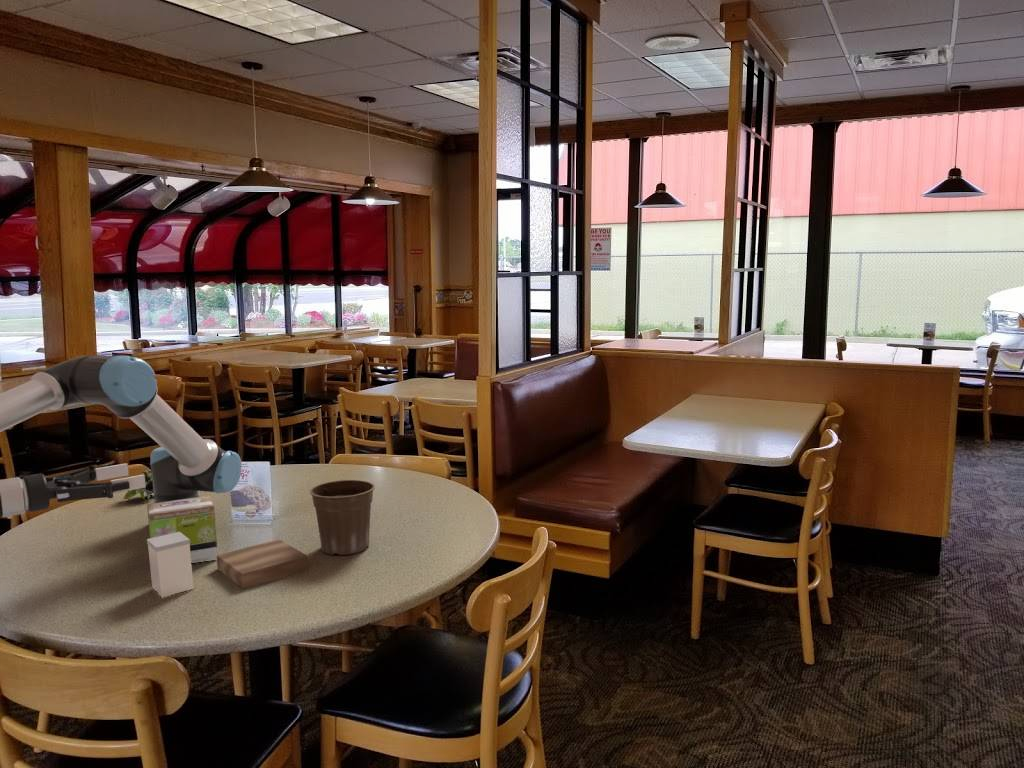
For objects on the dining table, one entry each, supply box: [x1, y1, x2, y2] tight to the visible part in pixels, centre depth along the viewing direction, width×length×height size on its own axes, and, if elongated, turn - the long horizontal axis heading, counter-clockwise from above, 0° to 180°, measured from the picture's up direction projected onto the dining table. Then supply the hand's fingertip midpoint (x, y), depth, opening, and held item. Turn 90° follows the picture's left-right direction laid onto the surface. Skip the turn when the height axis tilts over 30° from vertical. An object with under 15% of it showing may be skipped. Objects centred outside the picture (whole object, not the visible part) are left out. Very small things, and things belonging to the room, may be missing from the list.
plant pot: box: [309, 479, 376, 556], centre depth 198 cm, size 16×16×16 cm
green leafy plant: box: [123, 469, 154, 500], centre depth 246 cm, size 11×11×12 cm
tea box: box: [146, 495, 218, 563], centre depth 192 cm, size 15×10×15 cm, turn 117°
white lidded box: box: [146, 532, 195, 597], centre depth 175 cm, size 7×7×12 cm
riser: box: [216, 538, 309, 590], centre depth 186 cm, size 16×16×4 cm
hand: (136, 474), depth 170 cm, fingers open, 13 cm apart
